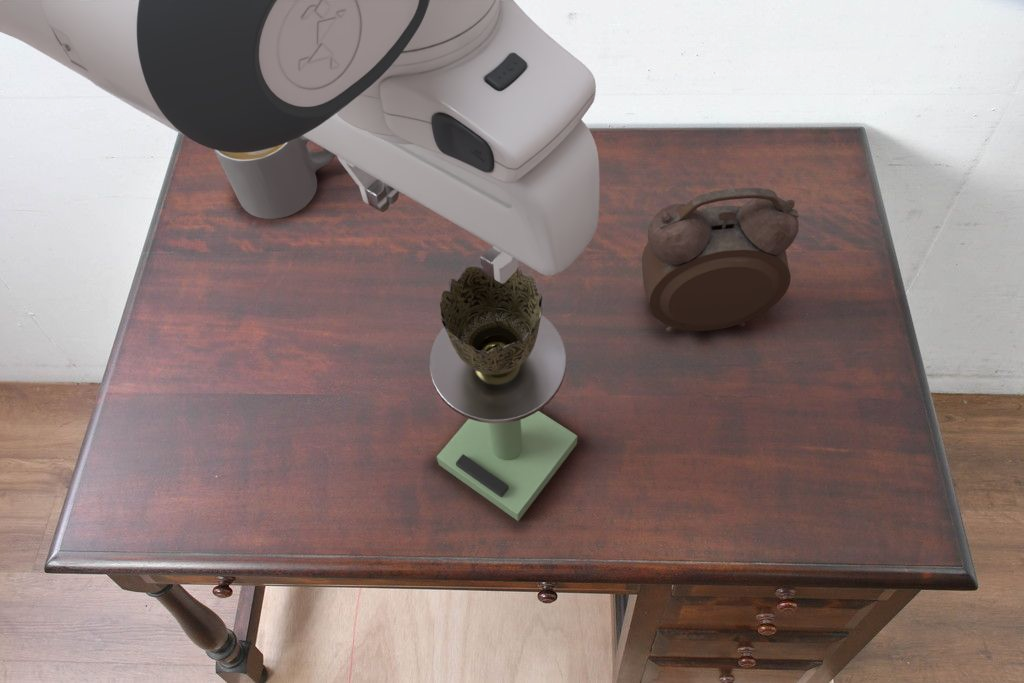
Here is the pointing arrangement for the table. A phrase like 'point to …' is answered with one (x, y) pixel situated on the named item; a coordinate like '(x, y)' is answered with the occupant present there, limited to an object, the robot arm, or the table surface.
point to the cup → (492, 319)
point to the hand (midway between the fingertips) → (439, 235)
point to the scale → (508, 459)
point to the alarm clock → (718, 259)
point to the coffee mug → (274, 177)
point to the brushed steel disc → (500, 380)
